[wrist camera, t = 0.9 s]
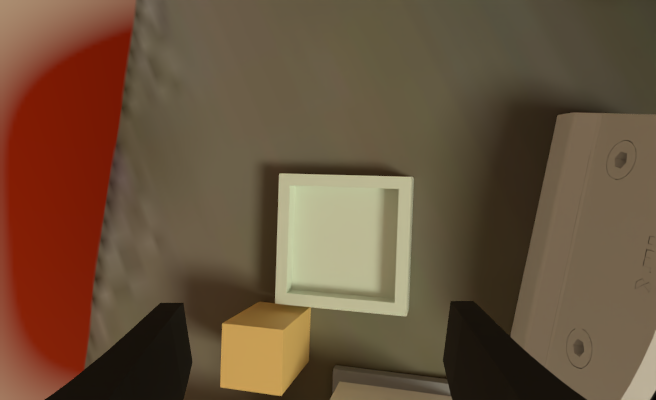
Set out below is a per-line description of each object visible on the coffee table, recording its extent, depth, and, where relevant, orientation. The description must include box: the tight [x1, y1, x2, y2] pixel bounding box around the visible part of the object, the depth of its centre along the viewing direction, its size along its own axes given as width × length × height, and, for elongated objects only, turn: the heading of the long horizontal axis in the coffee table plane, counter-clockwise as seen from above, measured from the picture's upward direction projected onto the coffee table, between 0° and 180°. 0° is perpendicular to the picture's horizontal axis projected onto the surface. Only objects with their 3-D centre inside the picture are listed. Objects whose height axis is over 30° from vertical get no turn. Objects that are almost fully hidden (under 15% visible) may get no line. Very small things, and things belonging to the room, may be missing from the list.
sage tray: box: [275, 173, 414, 316], centre depth 32 cm, size 9×9×2 cm
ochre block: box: [220, 302, 311, 396], centre depth 31 cm, size 4×4×6 cm
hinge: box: [510, 112, 656, 400], centre depth 25 cm, size 17×5×10 cm, turn 170°
